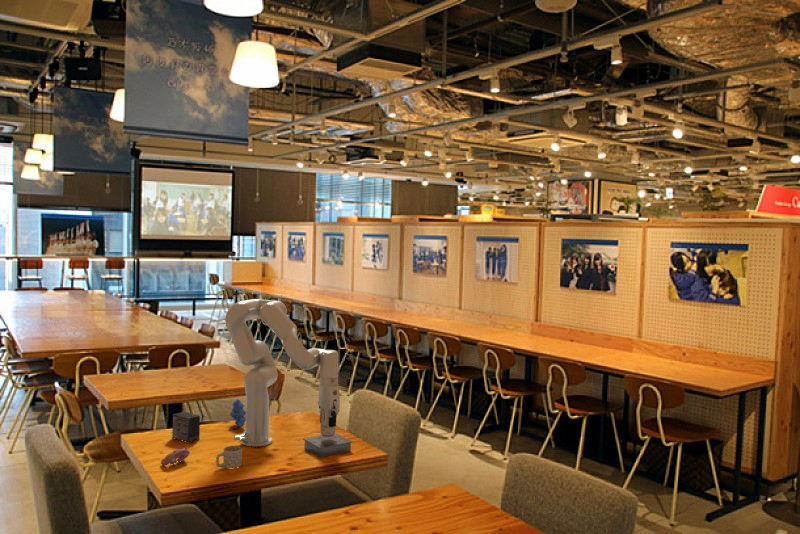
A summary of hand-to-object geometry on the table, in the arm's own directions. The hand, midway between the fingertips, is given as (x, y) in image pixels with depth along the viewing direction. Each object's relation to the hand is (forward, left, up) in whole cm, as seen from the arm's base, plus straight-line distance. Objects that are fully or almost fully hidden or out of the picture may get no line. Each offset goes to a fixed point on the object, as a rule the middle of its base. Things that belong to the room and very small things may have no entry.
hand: (328, 424), depth 260 cm
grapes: (-18, +50, -11) cm, 54 cm away
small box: (-43, +44, -11) cm, 62 cm away
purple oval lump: (-56, +17, -11) cm, 60 cm away
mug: (-41, +3, -11) cm, 42 cm away
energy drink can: (0, 0, -5) cm, 5 cm away
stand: (0, 0, -10) cm, 10 cm away
